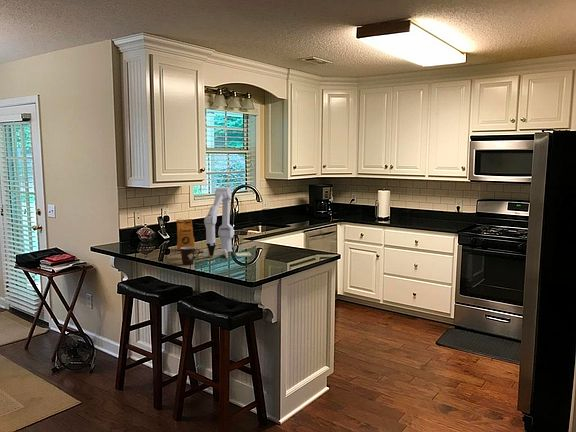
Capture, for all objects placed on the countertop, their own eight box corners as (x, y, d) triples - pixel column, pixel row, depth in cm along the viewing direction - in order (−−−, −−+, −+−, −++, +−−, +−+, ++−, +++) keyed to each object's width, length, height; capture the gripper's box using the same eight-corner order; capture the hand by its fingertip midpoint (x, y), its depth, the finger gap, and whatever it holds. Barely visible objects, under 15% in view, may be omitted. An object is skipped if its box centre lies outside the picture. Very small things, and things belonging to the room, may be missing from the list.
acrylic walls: (203, 255, 310) (203, 250, 309) (225, 254, 313) (225, 249, 313) (205, 259, 297) (204, 254, 297) (227, 258, 301) (227, 252, 300)
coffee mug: (180, 266, 279) (180, 249, 278) (180, 263, 287) (180, 247, 286) (200, 264, 281) (200, 248, 280) (200, 262, 290) (199, 246, 289)
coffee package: (194, 250, 328) (193, 219, 326) (176, 251, 326) (175, 220, 324) (195, 248, 338) (194, 217, 336) (177, 249, 336) (176, 218, 333)
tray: (235, 254, 313) (235, 253, 313) (249, 253, 316) (249, 252, 315) (237, 256, 304) (237, 255, 304) (251, 256, 307) (251, 254, 307)
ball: (207, 256, 306) (207, 250, 306) (214, 256, 307) (213, 250, 307) (208, 257, 302) (208, 251, 302) (214, 257, 303) (214, 251, 303)
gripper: (203, 232, 309) (204, 253, 311) (205, 236, 295) (205, 257, 297) (214, 232, 311) (214, 252, 312) (216, 235, 297) (217, 256, 298)
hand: (211, 254), depth 305 cm, fingers closed on ball, 4 cm apart
